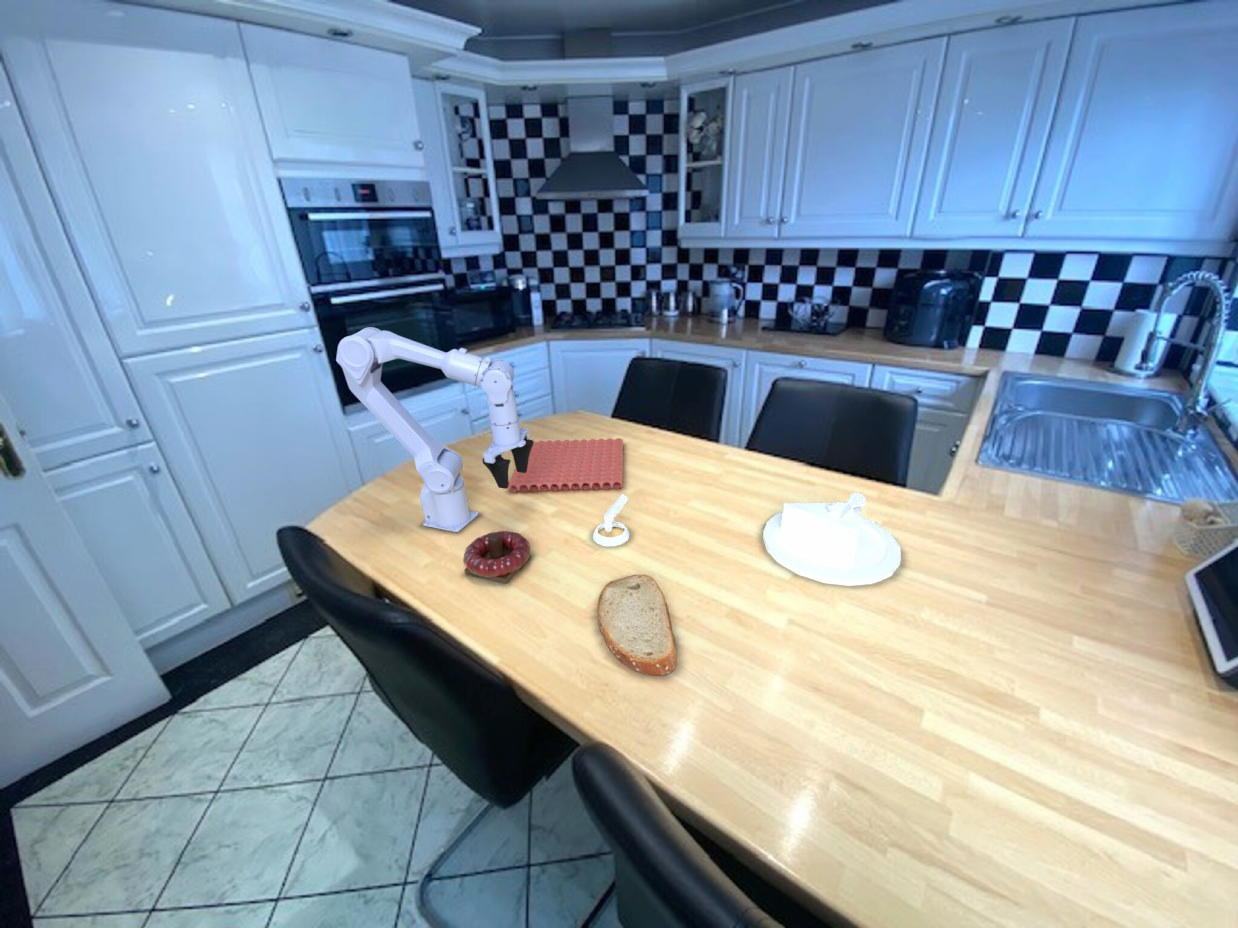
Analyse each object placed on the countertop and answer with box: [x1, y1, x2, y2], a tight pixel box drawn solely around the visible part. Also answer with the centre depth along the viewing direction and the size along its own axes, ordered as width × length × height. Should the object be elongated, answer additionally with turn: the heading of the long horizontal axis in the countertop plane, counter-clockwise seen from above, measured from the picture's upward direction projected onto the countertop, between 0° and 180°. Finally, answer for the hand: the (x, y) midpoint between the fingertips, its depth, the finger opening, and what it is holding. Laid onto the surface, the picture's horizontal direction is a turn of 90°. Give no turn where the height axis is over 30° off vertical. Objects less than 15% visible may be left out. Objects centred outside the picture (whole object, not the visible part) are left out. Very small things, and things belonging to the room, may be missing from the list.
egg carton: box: [507, 437, 624, 494], centre depth 136 cm, size 28×28×2 cm
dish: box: [762, 492, 902, 587], centre depth 97 cm, size 25×25×11 cm
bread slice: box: [596, 574, 678, 677], centre depth 81 cm, size 18×18×4 cm
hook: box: [592, 493, 631, 547], centre depth 103 cm, size 8×12×7 cm
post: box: [464, 533, 532, 585], centre depth 96 cm, size 9×9×7 cm
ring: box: [462, 530, 531, 577], centre depth 97 cm, size 12×12×3 cm
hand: (513, 479), depth 110 cm, fingers open, 7 cm apart
